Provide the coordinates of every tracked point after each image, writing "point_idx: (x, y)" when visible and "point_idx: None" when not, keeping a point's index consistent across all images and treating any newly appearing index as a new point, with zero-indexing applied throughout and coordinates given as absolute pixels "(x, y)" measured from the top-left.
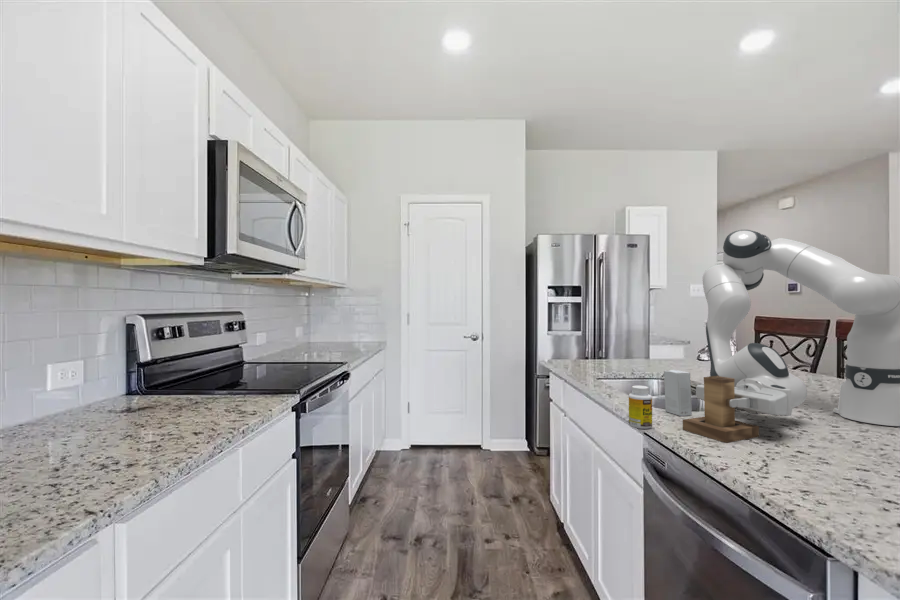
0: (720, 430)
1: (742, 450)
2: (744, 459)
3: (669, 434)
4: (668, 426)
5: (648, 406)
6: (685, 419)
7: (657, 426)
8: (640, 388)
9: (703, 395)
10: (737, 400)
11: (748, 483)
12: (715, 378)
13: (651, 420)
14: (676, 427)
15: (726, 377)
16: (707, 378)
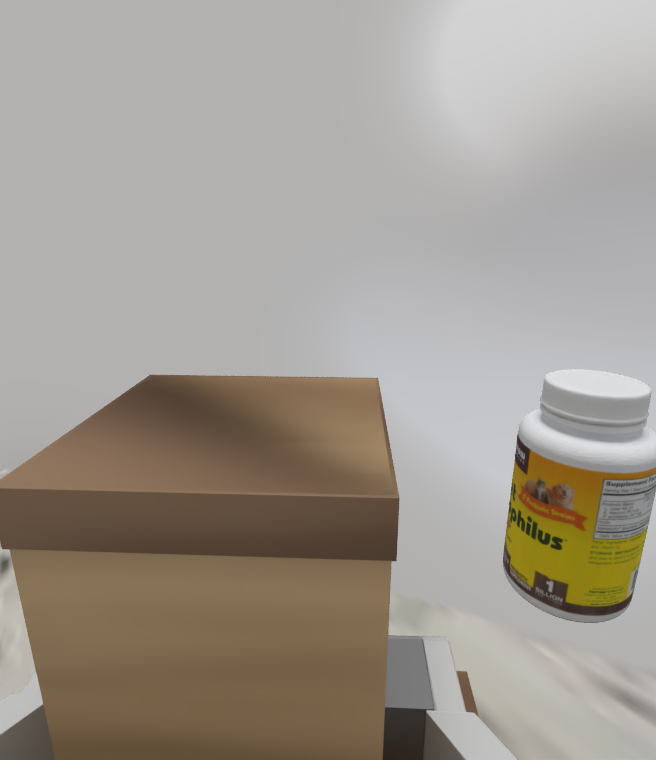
0: None
1: (28, 674)
2: (16, 583)
3: (400, 599)
4: (563, 716)
5: (516, 474)
6: (470, 696)
7: (565, 656)
8: (549, 373)
9: (440, 638)
10: (12, 704)
11: (6, 472)
12: (241, 387)
13: (520, 561)
14: (531, 746)
15: (159, 482)
16: (325, 385)
